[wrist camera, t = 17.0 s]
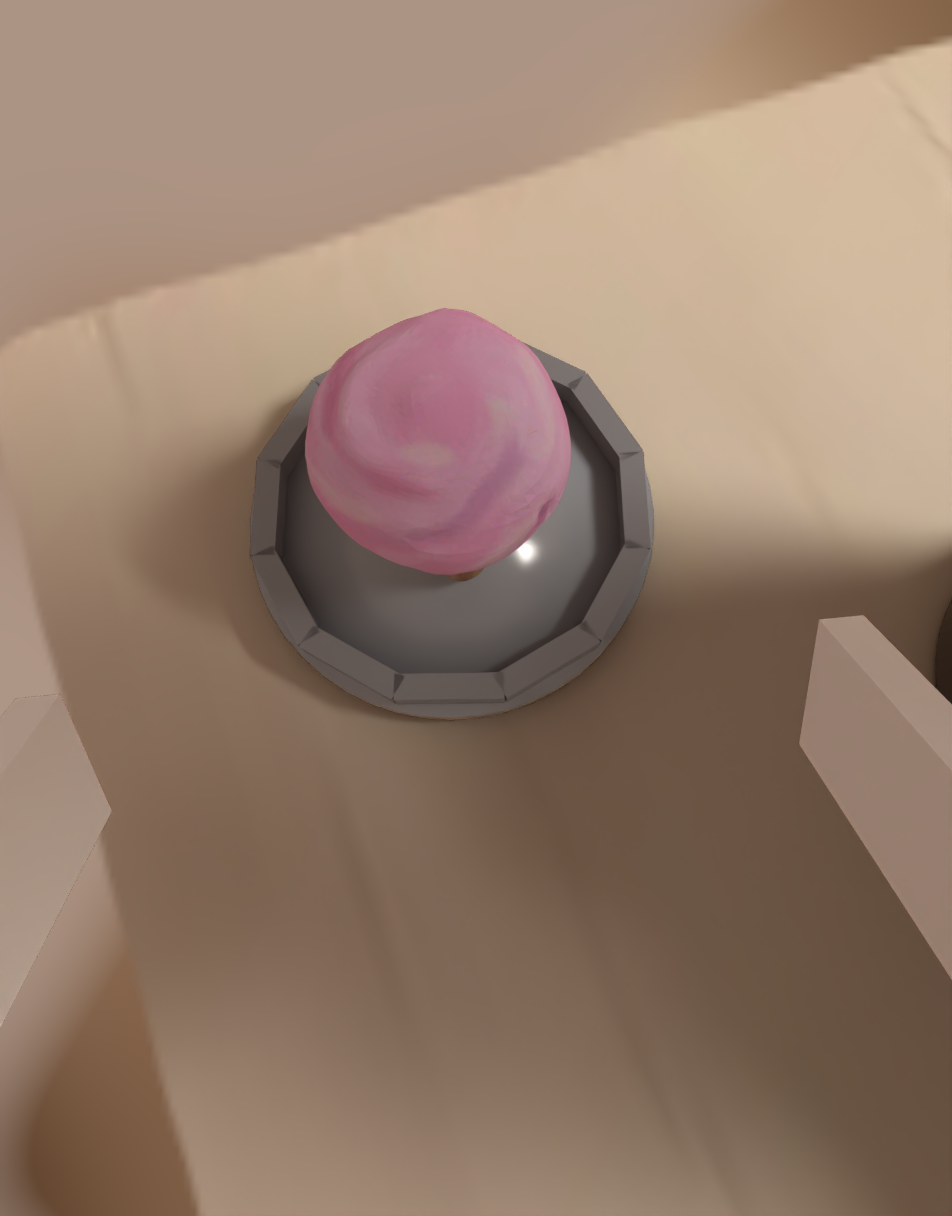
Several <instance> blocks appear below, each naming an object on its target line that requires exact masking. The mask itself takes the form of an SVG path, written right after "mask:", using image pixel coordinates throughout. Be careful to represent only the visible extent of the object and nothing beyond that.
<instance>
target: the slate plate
mask: <svg viewBox="0 0 952 1216" xmlns="http://www.w3.org/2000/svg"><path fill="white" fill-rule="evenodd" d="M524 344H525V343H524ZM525 345H526V346H528V347H529V348H530V349H531V350H532V351H533V353H534V354H535V355H536V356H537V357H538V359H539V360H540V362H541V363H542V365H543V367H544V368H545V370H546V371H547V373H548V375H549V377H550V379H551V381H552V383H553V385H554V387H555V389H556V391H557V394H558V396H559V398H560V401H561V403H562V406H563V409H564V412H565V415H566V418H567V422H568V427H569V433H570V443H571V463H570V469H569V475H568V479H567V482H566V485H565V488H564V491H563V494H562V496H561V498H560V501H559V503H558V505H557V507H556V508H555V510H554V511H553V513H552V514H551V515H550V516H549V517H548V518H547V520H546V521H545V522H544V523H543V524H542V525H541V526H540V527H539V528H538V529H537V531H536V532H535V533H534V534H533V535H532V536H531V537H530V538H529V539H528V540H527V541H526V542H525V543H524V544H523V545H522V546H521V547H519V548H518V549H517V550H515V551H514V552H513V553H512V554H510V555H509V556H507V557H505V558H504V559H502V560H500V561H498V562H496V563H494V564H492V565H489V566H487V567H484V569H483V570H482V572H481V573H479V574H478V575H477V576H476V577H474V578H472V579H470V580H468V581H457V580H453V579H451V578H449V577H447V576H446V575H435V574H430V573H426V572H423V571H420V570H417V569H414V568H411V567H407V566H403V565H400V564H397V563H394V562H392V561H389V560H387V559H385V558H383V557H381V556H379V555H377V554H376V553H374V552H372V551H370V550H368V549H366V548H364V547H363V546H361V545H360V544H358V543H357V542H356V541H354V540H353V539H352V538H351V537H349V536H348V535H347V534H346V533H345V532H344V531H343V530H342V529H341V528H340V527H339V525H338V524H337V523H336V522H335V521H334V520H333V518H332V517H331V516H330V515H329V513H328V512H327V511H326V509H325V508H324V506H323V505H322V503H321V502H320V500H319V499H318V497H317V495H316V494H315V492H314V490H313V488H312V485H311V483H310V479H309V475H308V470H307V463H306V458H305V440H306V433H307V427H308V421H309V414H310V410H311V406H312V402H313V399H314V397H315V395H316V392H317V390H318V388H319V386H320V384H321V382H322V381H323V379H324V378H325V376H326V374H327V373H328V371H327V372H325V373H323V374H321V375H319V376H317V377H315V378H313V379H314V380H311V382H310V383H309V385H308V386H307V388H306V389H305V390H304V392H303V393H302V395H301V396H300V398H299V399H298V400H297V402H296V403H295V405H294V406H293V408H292V409H291V411H290V412H289V413H288V415H287V416H286V418H285V419H284V421H283V422H282V423H281V425H280V426H279V428H278V429H277V431H276V432H275V434H274V435H273V436H272V438H271V439H270V441H269V442H268V444H267V445H266V447H265V448H264V449H263V451H262V452H261V454H260V455H259V457H258V459H259V460H257V465H256V478H255V492H254V497H253V504H252V511H251V518H250V544H251V545H250V556H251V557H250V558H251V560H252V562H253V566H254V570H255V574H256V577H257V581H258V584H259V588H260V591H261V594H262V596H263V598H264V600H265V603H266V605H267V607H268V609H269V612H270V614H271V616H272V617H273V619H274V620H275V622H276V624H277V625H278V627H279V628H280V630H281V632H282V633H283V635H284V636H285V638H286V639H287V640H288V641H289V642H290V643H291V645H292V646H293V647H294V648H295V649H296V651H297V652H298V653H299V654H300V655H301V656H302V657H303V658H304V659H305V660H306V661H307V662H308V663H309V664H311V665H312V666H313V667H314V668H315V669H316V670H317V671H318V672H320V673H321V674H322V675H323V676H324V677H326V678H327V679H328V680H330V681H331V682H333V683H334V684H336V685H337V686H339V687H340V688H342V689H343V690H344V691H346V692H347V693H349V694H351V695H353V696H355V697H357V698H359V699H361V700H363V701H365V702H367V703H369V704H371V705H373V706H377V707H380V708H383V709H386V710H389V711H392V712H395V713H398V714H402V715H408V716H413V717H418V718H424V719H438V720H462V719H475V718H483V717H488V716H492V715H497V714H502V713H506V712H509V711H512V710H515V709H518V708H521V707H523V706H526V705H529V704H532V703H534V702H536V701H538V700H540V699H542V698H544V697H546V696H548V695H550V694H551V693H553V692H555V691H557V690H559V689H560V688H561V687H563V686H564V685H566V684H567V683H569V682H570V681H572V680H573V679H574V678H576V677H577V676H579V675H580V674H581V673H582V672H583V671H584V670H585V669H586V668H587V667H588V666H590V665H591V664H592V663H593V662H594V661H595V660H596V659H597V658H598V657H599V656H600V655H601V653H602V652H603V651H604V650H605V649H606V647H607V646H608V645H609V644H610V643H611V641H612V640H613V639H614V638H615V636H616V635H617V633H618V632H619V630H620V629H621V627H622V625H623V624H624V622H625V621H626V619H627V617H628V616H629V614H630V612H631V611H632V609H633V607H634V605H635V603H636V600H637V598H638V596H639V594H640V591H641V589H642V587H643V584H644V581H645V577H646V574H647V570H648V567H649V563H650V559H651V552H652V545H653V537H654V510H653V503H652V496H651V489H650V484H649V481H648V478H647V474H646V471H645V465H644V452H642V451H643V449H642V448H641V447H640V445H639V444H638V443H637V441H636V440H635V438H634V437H633V436H632V434H631V433H630V432H629V430H628V429H627V427H626V426H625V425H624V423H623V422H622V420H621V419H620V418H619V416H618V415H617V414H616V412H615V411H614V409H613V408H612V407H611V405H610V404H609V402H608V401H607V400H606V398H605V397H604V396H603V394H602V393H601V391H600V390H599V389H598V387H597V386H596V384H595V383H594V382H593V380H592V379H591V378H590V376H589V375H588V373H587V374H586V372H585V371H583V370H581V369H578V368H576V367H574V366H572V365H570V364H568V363H566V362H564V361H561V360H559V359H557V358H555V357H553V356H551V355H549V354H547V353H544V352H542V351H540V350H538V349H536V348H534V347H532V346H530V345H527V344H525Z"/></svg>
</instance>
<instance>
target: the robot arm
mask: <svg viewBox="0 0 952 1216" xmlns="http://www.w3.org/2000/svg"><path fill="white" fill-rule="evenodd" d="M936 687H937V689H936V688H935V687H934V686H933V685H932V684H931V683H930V682H929V681H928V680H927V679H926V678H925V677H924V676H923V675H922V674H921V673H920V672H919V671H918V670H917V669H916V668H915V667H914V666H913V665H912V664H911V663H910V662H909V661H908V660H907V659H906V658H905V657H904V656H903V655H902V654H901V653H900V652H899V651H898V650H897V649H896V648H895V647H894V646H893V645H892V644H891V643H890V642H889V641H888V640H887V638H886V637H885V636H884V635H883V634H882V633H881V632H880V631H879V630H878V629H877V628H876V627H875V626H874V625H873V624H872V623H871V622H870V621H869V620H868V619H867V618H866V617H865V616H864V615H859V616H849V617H839V618H829V619H819V622H818V629H817V635H816V641H815V647H814V654H813V660H812V666H811V672H810V679H809V685H808V691H807V697H806V704H805V710H804V716H803V722H802V729H801V735H800V741H799V745H800V746H801V748H802V749H803V751H804V753H805V754H806V756H807V757H808V759H809V760H810V762H811V763H812V765H813V766H814V768H815V770H816V771H817V773H818V774H819V776H820V777H821V779H822V780H823V782H824V783H825V785H826V787H827V788H828V790H829V791H830V793H831V794H832V796H833V797H834V799H835V800H836V802H837V804H838V805H839V807H840V808H841V810H842V811H843V813H844V814H845V816H846V817H847V819H848V821H849V822H850V824H851V825H852V827H853V828H854V830H855V831H856V833H857V834H858V836H859V838H860V839H861V841H862V842H863V844H864V845H865V847H866V848H867V850H868V851H869V853H870V855H871V856H872V858H873V859H874V861H875V862H876V864H877V865H878V867H879V868H880V870H881V872H882V873H883V875H884V876H885V878H886V879H887V881H888V882H889V884H890V885H891V887H892V889H893V890H894V892H895V893H896V895H897V896H898V898H899V899H900V901H901V902H902V904H903V906H904V907H905V909H906V910H907V912H908V913H909V915H910V916H911V918H912V919H913V921H914V923H915V924H916V926H917V927H918V929H919V930H920V932H921V933H922V935H923V936H924V938H925V939H926V941H927V943H928V944H929V946H930V947H931V949H932V950H933V952H934V953H935V955H936V956H937V958H938V960H939V961H940V963H941V964H942V966H943V967H944V969H945V970H946V972H947V973H948V975H949V977H950V978H951V980H952V601H951V603H950V605H949V607H948V610H947V612H946V615H945V618H944V620H943V624H942V627H941V631H940V635H939V640H938V646H937V655H936ZM111 812H112V811H111V808H110V806H109V804H108V801H107V799H106V797H105V795H104V792H103V790H102V788H101V786H100V783H99V781H98V779H97V776H96V774H95V772H94V770H93V767H92V765H91V763H90V761H89V758H88V756H87V754H86V752H85V749H84V747H83V745H82V742H81V740H80V738H79V736H78V733H77V731H76V729H75V727H74V724H73V722H72V720H71V717H70V715H69V713H68V711H67V708H66V706H65V704H64V702H63V699H62V697H61V695H60V694H54V695H44V696H34V697H24V698H16V699H15V700H14V701H13V702H12V704H11V705H10V706H9V707H8V709H7V710H6V711H5V713H4V714H3V715H2V716H1V717H0V1028H1V1026H2V1024H3V1022H4V1020H5V1018H6V1016H7V1014H8V1012H9V1010H10V1008H11V1006H12V1004H13V1002H14V1001H15V998H16V997H17V995H18V993H19V991H20V989H21V987H22V985H23V983H24V981H25V979H26V977H27V975H28V973H29V971H30V969H31V967H32V965H33V963H34V962H35V959H36V958H37V956H38V954H39V952H40V950H41V948H42V946H43V944H44V942H45V940H46V938H47V936H48V934H49V933H50V931H51V929H52V927H53V924H54V923H55V921H56V919H57V917H58V915H59V913H60V911H61V909H62V907H63V905H64V903H65V901H66V899H67V897H68V896H69V894H70V892H71V890H72V888H73V886H74V884H75V882H76V880H77V878H78V876H79V874H80V872H81V870H82V868H83V866H84V864H85V862H86V860H87V859H88V857H89V855H90V853H91V851H92V849H93V847H94V845H95V843H96V841H97V839H98V837H99V835H100V833H101V831H102V830H103V828H104V826H105V824H106V822H107V820H108V818H109V816H110V814H111Z"/></svg>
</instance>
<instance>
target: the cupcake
mask: <svg viewBox="0 0 952 1216" xmlns="http://www.w3.org/2000/svg"><path fill="white" fill-rule="evenodd" d="M305 458H306V463H307V470H308V475H309V479H310V483H311V485H312V488H313V490H314V492H315V494H316V495H317V497H318V499H319V500H320V502H321V503H322V505H323V506H324V508H325V509H326V511H327V512H328V513H329V515H330V516H331V517H332V518H333V520H334V521H335V522H336V523H337V524H338V525H339V527H340V528H341V529H342V530H343V531H344V532H345V533H346V534H347V535H348V536H349V537H351V538H352V539H353V540H354V541H356V542H357V543H358V544H360V545H361V546H363V547H364V548H366V549H368V550H370V551H372V552H374V553H376V554H377V555H379V556H381V557H383V558H385V559H387V560H389V561H392V562H394V563H397V564H400V565H403V566H407V567H411V568H414V569H417V570H420V571H423V572H426V573H430V574H435V575H446V576H447V577H449V578H451V579H453V580H457V581H468V580H470V579H472V578H474V577H476V576H477V575H478V574H479V573H481V572H482V570H483V569H484V567H487V566H489V565H492V564H494V563H496V562H498V561H500V560H502V559H504V558H505V557H507V556H509V555H510V554H512V553H513V552H514V551H515V550H517V549H518V548H519V547H521V546H522V545H523V544H524V543H525V542H526V541H527V540H528V539H529V538H530V537H531V536H532V535H533V534H534V533H535V532H536V531H537V529H538V528H539V527H540V526H541V525H542V524H543V523H544V522H545V521H546V520H547V518H548V517H549V516H550V515H551V514H552V513H553V511H554V510H555V508H556V507H557V505H558V503H559V501H560V498H561V496H562V494H563V491H564V488H565V485H566V482H567V479H568V475H569V469H570V463H571V443H570V433H569V427H568V422H567V418H566V415H565V412H564V409H563V406H562V403H561V401H560V398H559V396H558V394H557V391H556V389H555V387H554V385H553V383H552V381H551V379H550V377H549V375H548V373H547V371H546V370H545V368H544V367H543V365H542V363H541V362H540V360H539V359H538V357H537V356H536V355H535V354H534V353H533V351H532V350H531V349H530V348H529V347H528V346H526V345H525V344H524V343H523V342H521V341H520V340H518V339H516V338H515V337H513V336H512V335H510V334H508V333H507V332H505V331H503V330H502V329H500V328H498V327H497V326H495V325H493V324H492V323H490V322H488V321H486V320H484V319H483V318H481V317H479V316H477V315H475V314H473V313H470V312H467V311H463V310H456V309H447V308H443V309H439V310H435V311H432V312H429V313H426V314H424V315H421V316H417V317H413V318H410V319H406V320H403V321H401V322H399V323H397V324H394V325H392V326H390V327H389V328H387V329H385V330H383V331H381V332H379V333H377V334H375V335H373V336H372V337H370V338H368V339H366V340H364V341H363V342H361V343H359V344H357V345H356V346H354V347H352V348H350V349H349V350H348V351H347V352H346V353H344V354H343V355H342V356H341V357H340V358H339V359H338V360H337V361H336V362H335V364H334V365H333V366H332V368H331V369H330V370H329V371H328V373H327V374H326V376H325V378H324V379H323V381H322V382H321V384H320V386H319V388H318V390H317V392H316V395H315V397H314V399H313V402H312V406H311V410H310V414H309V421H308V427H307V433H306V440H305Z"/></svg>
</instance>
